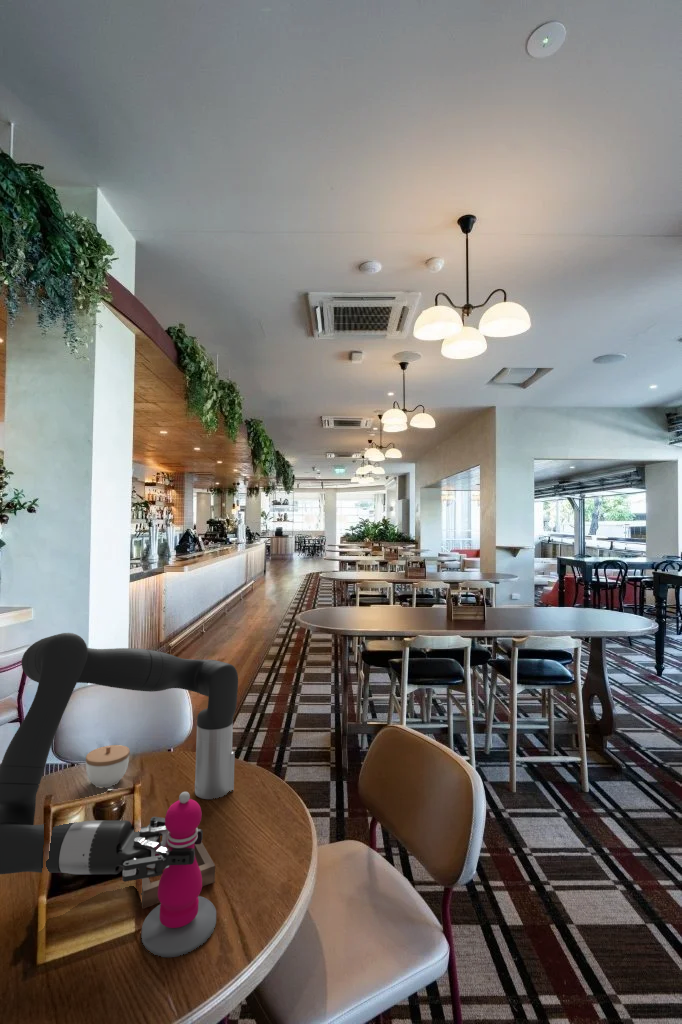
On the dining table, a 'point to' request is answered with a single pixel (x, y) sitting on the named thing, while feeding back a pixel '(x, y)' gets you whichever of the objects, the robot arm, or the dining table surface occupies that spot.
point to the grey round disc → (178, 931)
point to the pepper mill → (181, 880)
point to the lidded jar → (107, 765)
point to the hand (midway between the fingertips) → (197, 846)
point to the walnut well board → (205, 867)
